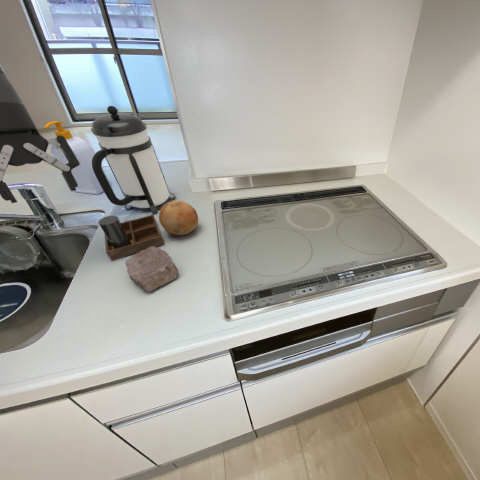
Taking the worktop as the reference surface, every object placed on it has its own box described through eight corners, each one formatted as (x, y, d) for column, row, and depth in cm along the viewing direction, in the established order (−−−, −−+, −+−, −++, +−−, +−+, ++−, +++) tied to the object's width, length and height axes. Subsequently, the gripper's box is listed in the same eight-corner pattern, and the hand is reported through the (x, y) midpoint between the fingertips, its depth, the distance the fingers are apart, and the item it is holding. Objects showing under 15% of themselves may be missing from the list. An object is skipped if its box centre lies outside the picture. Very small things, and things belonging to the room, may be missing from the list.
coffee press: (122, 198, 89) (73, 101, 70) (173, 189, 95) (141, 98, 76) (121, 225, 77) (63, 118, 58) (179, 213, 84) (144, 112, 65)
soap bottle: (73, 193, 90) (29, 123, 75) (89, 184, 95) (51, 117, 81) (97, 196, 89) (58, 126, 75) (112, 186, 95) (78, 119, 80)
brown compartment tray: (111, 261, 66) (106, 252, 64) (108, 235, 73) (103, 227, 72) (164, 244, 72) (161, 236, 70) (156, 222, 79) (153, 214, 77)
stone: (124, 271, 63) (115, 257, 61) (161, 253, 69) (155, 239, 66) (145, 297, 58) (137, 283, 55) (184, 275, 63) (178, 262, 60)
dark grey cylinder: (115, 254, 67) (98, 226, 61) (114, 246, 69) (97, 218, 64) (133, 249, 69) (118, 221, 63) (131, 241, 71) (117, 213, 65)
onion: (200, 219, 82) (191, 191, 75) (202, 237, 75) (194, 208, 69) (165, 225, 78) (154, 196, 72) (165, 245, 71) (152, 215, 65)
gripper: (-82, 101, 37) (-10, 208, 43) (49, 98, 47) (94, 187, 53) (-70, 111, 42) (-7, 206, 48) (46, 107, 52) (87, 187, 58)
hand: (46, 196), depth 51 cm, fingers open, 8 cm apart
